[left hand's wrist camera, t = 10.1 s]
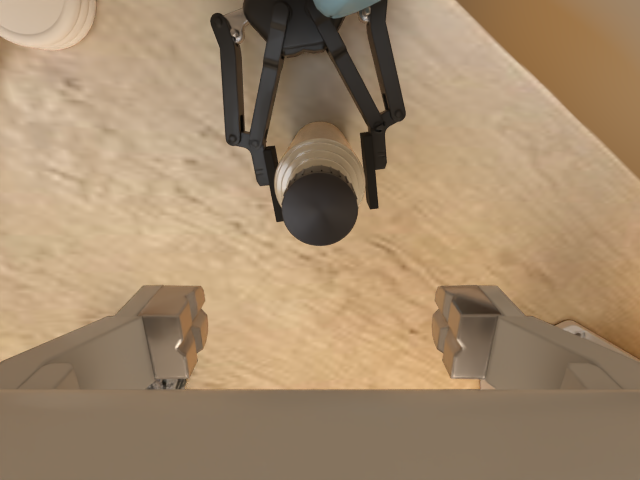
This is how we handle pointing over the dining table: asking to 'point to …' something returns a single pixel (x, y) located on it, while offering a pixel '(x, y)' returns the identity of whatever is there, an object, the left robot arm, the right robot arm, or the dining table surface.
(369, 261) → the dining table surface
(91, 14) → the cream round flat disc
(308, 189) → the cap
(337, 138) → the bottle
